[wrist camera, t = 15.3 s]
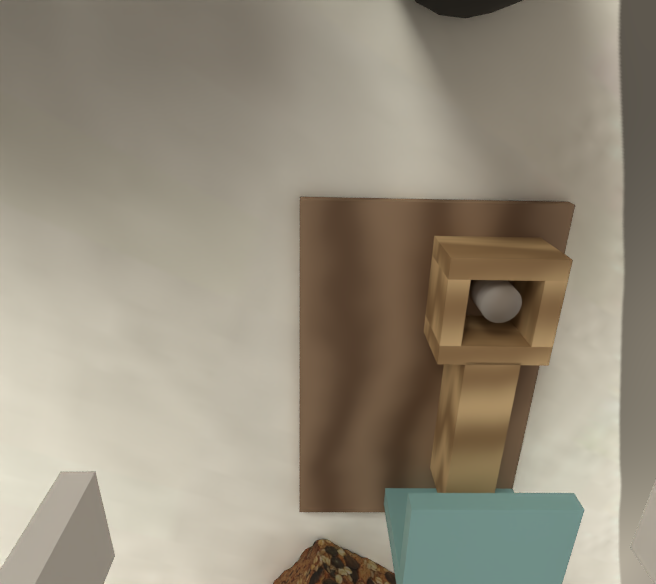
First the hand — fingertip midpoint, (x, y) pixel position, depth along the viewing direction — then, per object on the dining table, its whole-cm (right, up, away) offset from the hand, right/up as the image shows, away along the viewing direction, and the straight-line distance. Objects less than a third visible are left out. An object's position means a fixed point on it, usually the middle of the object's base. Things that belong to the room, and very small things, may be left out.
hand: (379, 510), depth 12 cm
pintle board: (+6, -2, +31) cm, 31 cm away
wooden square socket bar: (+10, -1, +29) cm, 31 cm away
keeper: (+10, -10, +34) cm, 37 cm away
